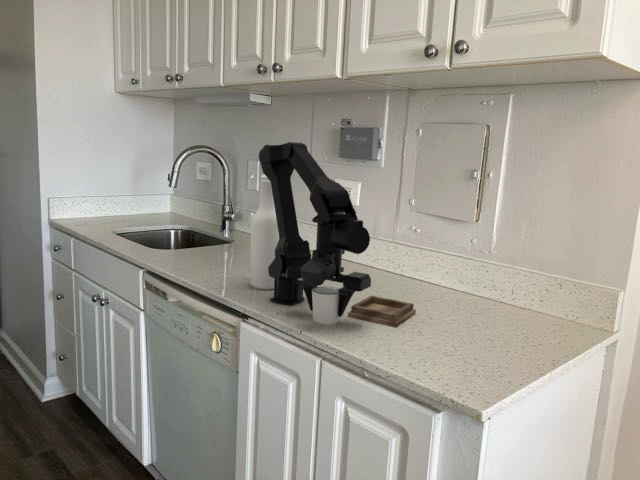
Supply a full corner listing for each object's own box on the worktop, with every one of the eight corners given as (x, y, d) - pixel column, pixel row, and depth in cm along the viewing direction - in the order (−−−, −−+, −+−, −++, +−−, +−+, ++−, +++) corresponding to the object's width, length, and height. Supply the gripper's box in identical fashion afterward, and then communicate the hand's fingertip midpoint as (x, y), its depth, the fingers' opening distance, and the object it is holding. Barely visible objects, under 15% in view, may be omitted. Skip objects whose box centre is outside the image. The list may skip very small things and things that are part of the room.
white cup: (323, 313, 124) (324, 284, 123) (347, 320, 120) (348, 290, 118) (304, 319, 119) (305, 289, 117) (328, 327, 114) (329, 296, 113)
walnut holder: (347, 316, 122) (348, 306, 122) (369, 304, 132) (370, 294, 132) (396, 327, 116) (397, 316, 116) (415, 313, 126) (416, 303, 126)
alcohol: (287, 288, 143) (290, 176, 138) (257, 291, 139) (259, 176, 134) (274, 281, 151) (277, 175, 146) (245, 283, 147) (246, 174, 142)
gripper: (273, 244, 114) (271, 314, 117) (350, 257, 105) (346, 332, 108) (300, 238, 123) (298, 302, 126) (374, 248, 114) (369, 318, 117)
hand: (326, 313), depth 119 cm, fingers open, 7 cm apart
